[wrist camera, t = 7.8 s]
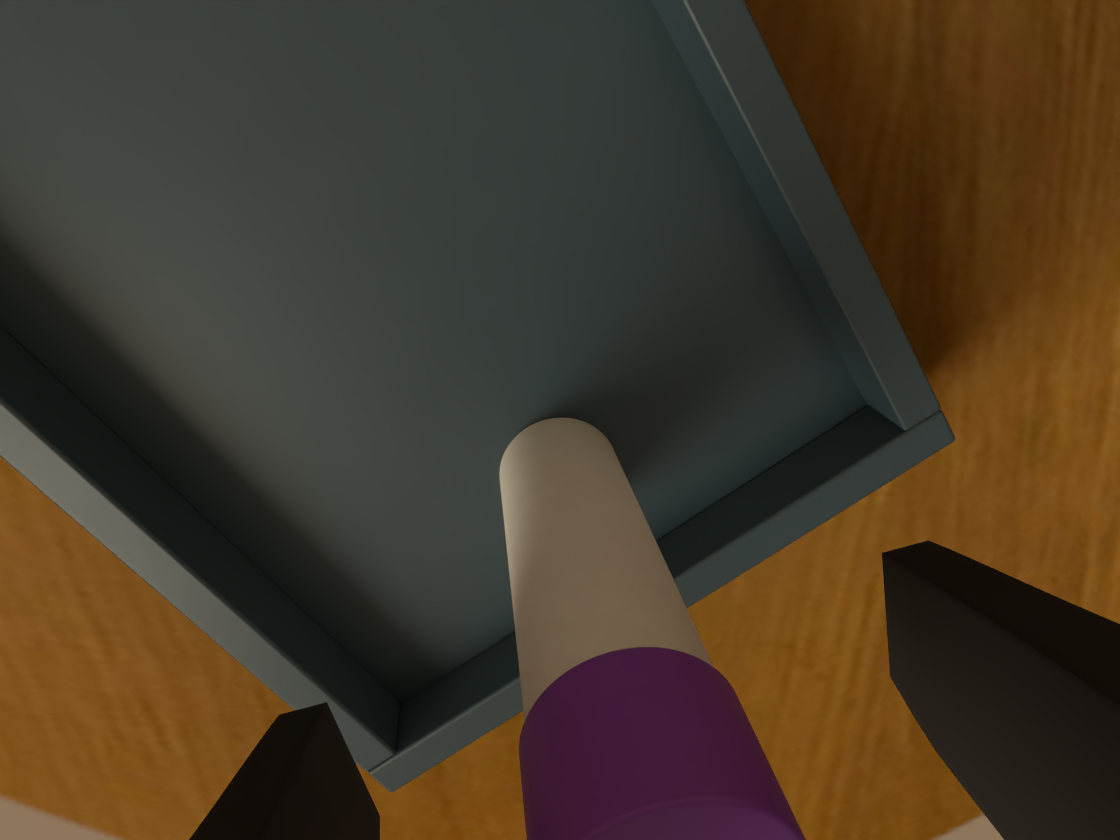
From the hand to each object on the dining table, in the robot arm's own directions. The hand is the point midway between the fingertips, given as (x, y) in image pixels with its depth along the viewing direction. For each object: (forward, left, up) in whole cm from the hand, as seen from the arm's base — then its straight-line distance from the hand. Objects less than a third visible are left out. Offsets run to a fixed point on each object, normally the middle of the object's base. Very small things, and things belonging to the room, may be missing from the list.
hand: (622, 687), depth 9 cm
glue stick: (0, 0, -6) cm, 6 cm away
